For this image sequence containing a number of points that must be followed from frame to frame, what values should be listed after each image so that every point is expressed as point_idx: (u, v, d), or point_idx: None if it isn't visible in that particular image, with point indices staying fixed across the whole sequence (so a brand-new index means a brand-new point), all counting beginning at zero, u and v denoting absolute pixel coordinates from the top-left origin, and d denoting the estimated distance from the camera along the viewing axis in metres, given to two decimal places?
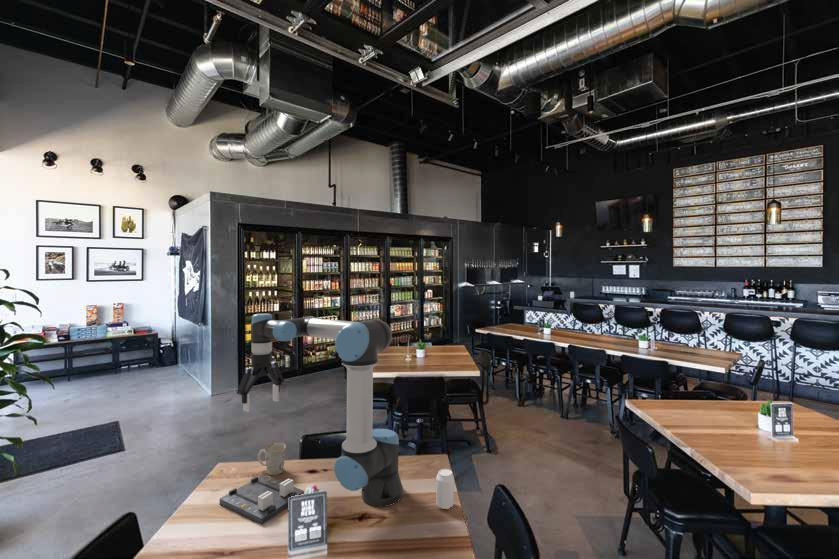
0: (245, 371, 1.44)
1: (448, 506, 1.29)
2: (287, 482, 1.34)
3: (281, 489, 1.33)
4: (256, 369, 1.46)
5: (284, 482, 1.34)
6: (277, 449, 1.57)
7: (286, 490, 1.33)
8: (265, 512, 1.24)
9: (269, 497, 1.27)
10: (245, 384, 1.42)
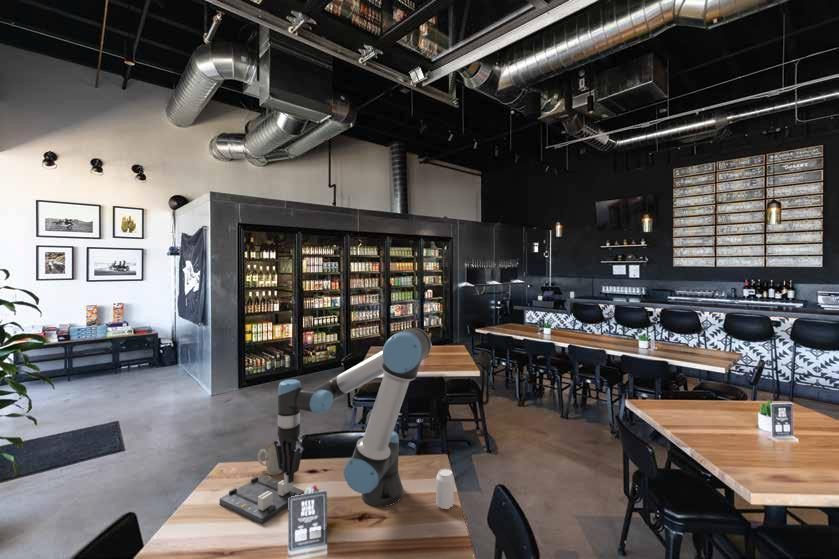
0: None
1: (448, 506, 1.29)
2: None
3: (279, 488, 1.33)
4: (280, 440, 1.34)
5: (282, 481, 1.34)
6: None
7: None
8: (265, 512, 1.24)
9: (269, 497, 1.27)
10: (278, 458, 1.35)
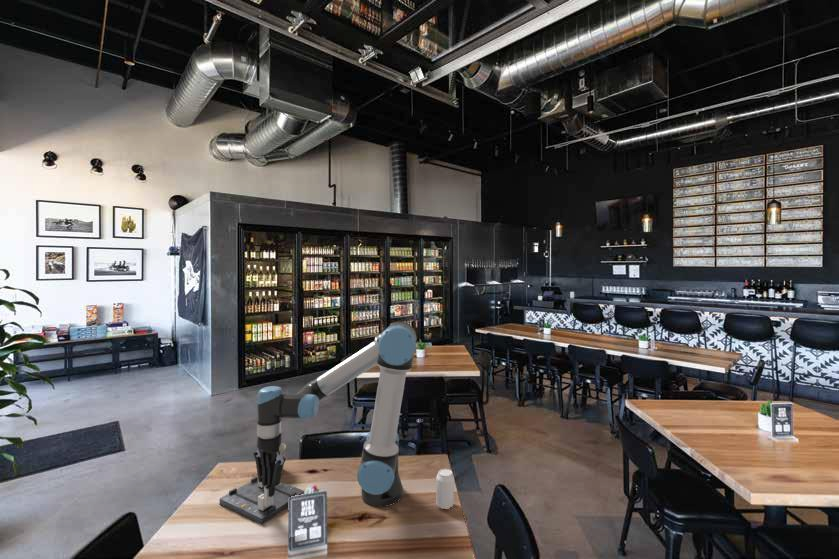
0: None
1: (448, 506, 1.29)
2: None
3: None
4: (260, 451, 1.26)
5: None
6: None
7: None
8: (265, 512, 1.24)
9: None
10: (258, 470, 1.26)
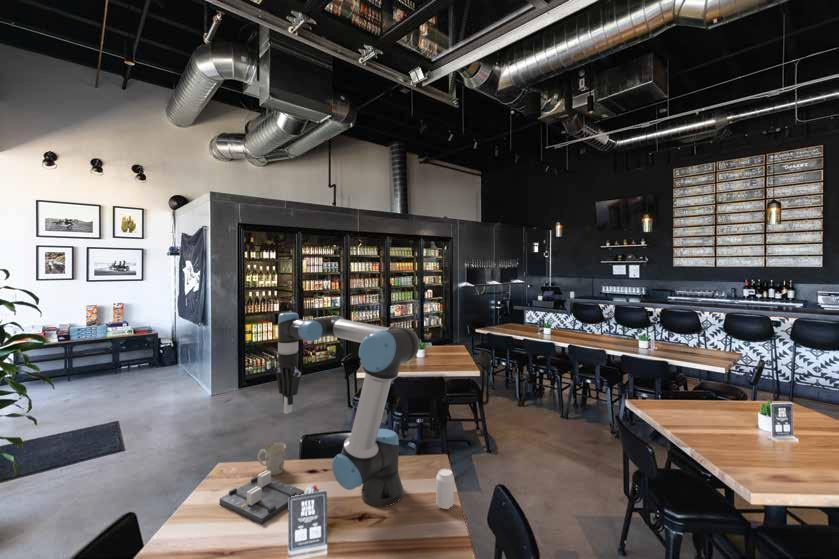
0: None
1: (448, 506, 1.29)
2: (265, 473, 1.40)
3: (259, 480, 1.39)
4: (280, 367, 1.48)
5: (262, 474, 1.40)
6: (277, 449, 1.57)
7: (264, 481, 1.39)
8: (265, 512, 1.24)
9: (258, 492, 1.29)
10: (278, 383, 1.48)
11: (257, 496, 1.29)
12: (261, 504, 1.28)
